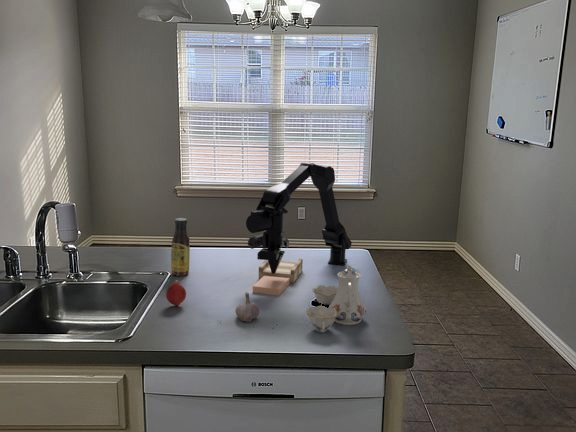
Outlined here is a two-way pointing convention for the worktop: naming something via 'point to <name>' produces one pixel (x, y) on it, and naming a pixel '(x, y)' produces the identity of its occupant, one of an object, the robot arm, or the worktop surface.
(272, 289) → the cover plate
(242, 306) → the garlic bulb
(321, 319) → the chinaware
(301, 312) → the worktop surface
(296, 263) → the birch box
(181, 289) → the onion
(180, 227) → the sauce bottle
